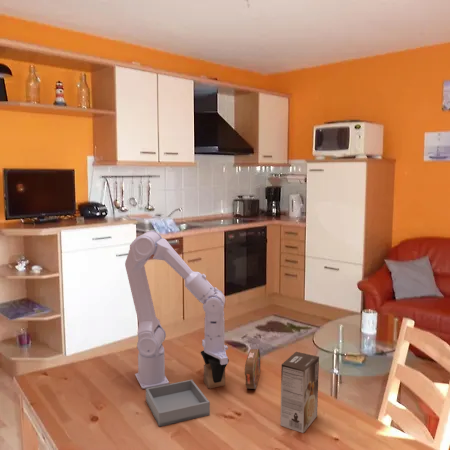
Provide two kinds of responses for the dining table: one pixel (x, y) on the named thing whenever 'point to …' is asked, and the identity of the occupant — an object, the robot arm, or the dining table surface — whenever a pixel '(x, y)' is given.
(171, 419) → the bin
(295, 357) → the coffee box
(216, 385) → the block
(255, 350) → the tin
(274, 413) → the dining table surface
